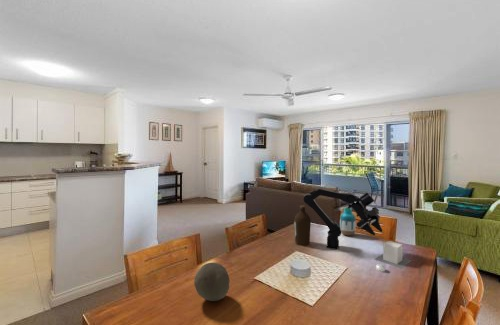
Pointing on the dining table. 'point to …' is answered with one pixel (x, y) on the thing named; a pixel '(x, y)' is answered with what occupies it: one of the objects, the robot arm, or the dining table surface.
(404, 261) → the grey square tile
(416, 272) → the dining table surface
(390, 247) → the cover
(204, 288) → the dark grey ball
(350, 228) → the vase
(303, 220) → the olive oil
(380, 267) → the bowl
